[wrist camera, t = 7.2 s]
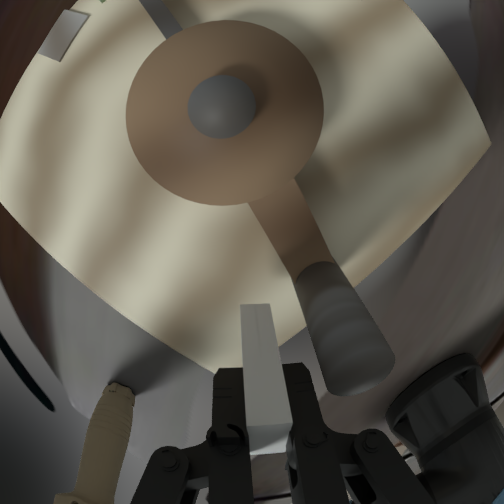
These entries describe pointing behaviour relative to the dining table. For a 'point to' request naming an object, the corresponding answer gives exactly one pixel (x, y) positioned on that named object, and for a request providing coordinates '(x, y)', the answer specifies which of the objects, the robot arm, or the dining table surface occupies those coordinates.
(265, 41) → the brown handled round piece
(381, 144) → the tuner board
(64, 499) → the handle
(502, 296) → the dining table surface
